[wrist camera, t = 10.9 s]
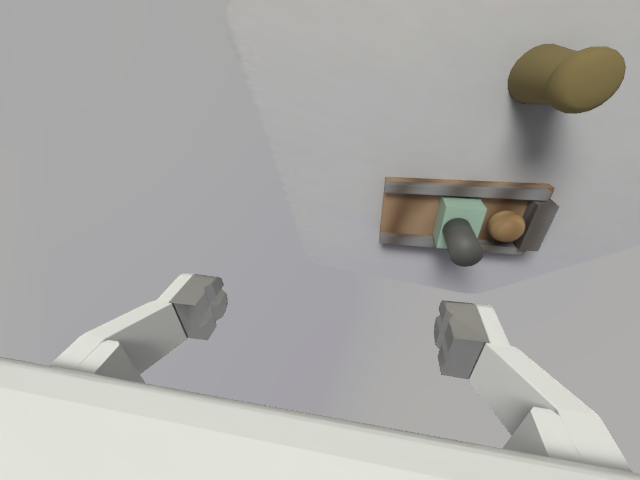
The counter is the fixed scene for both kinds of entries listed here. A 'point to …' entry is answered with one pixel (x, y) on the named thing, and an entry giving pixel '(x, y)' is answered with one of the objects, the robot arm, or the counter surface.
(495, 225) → the walnut
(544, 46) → the cork
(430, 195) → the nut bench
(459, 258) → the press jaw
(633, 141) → the counter surface
